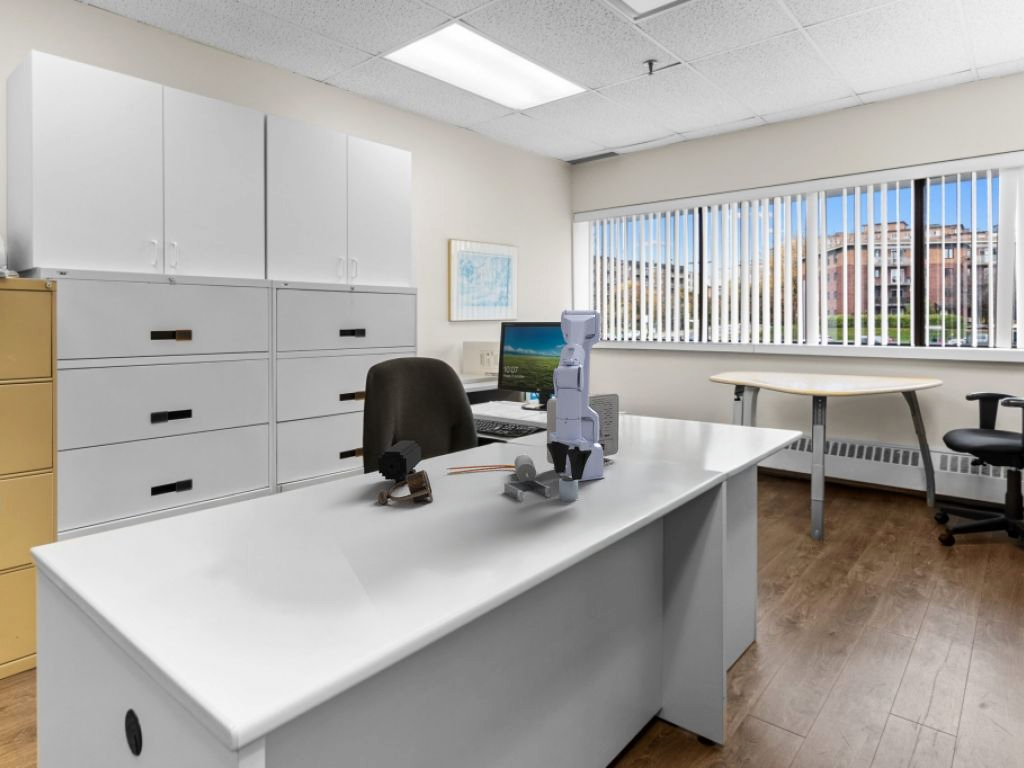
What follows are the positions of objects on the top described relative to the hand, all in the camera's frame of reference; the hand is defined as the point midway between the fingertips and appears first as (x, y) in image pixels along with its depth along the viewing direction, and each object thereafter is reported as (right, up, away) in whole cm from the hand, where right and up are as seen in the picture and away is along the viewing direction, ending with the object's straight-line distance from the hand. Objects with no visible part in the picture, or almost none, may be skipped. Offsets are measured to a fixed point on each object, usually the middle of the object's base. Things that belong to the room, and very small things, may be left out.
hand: (568, 476), depth 146 cm
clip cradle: (-10, -5, +5) cm, 12 cm away
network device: (+8, -2, +35) cm, 36 cm away
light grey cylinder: (0, -5, +1) cm, 5 cm away
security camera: (-41, -4, +16) cm, 44 cm away
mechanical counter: (-37, -6, 0) cm, 38 cm away
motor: (-19, -4, +19) cm, 27 cm away
